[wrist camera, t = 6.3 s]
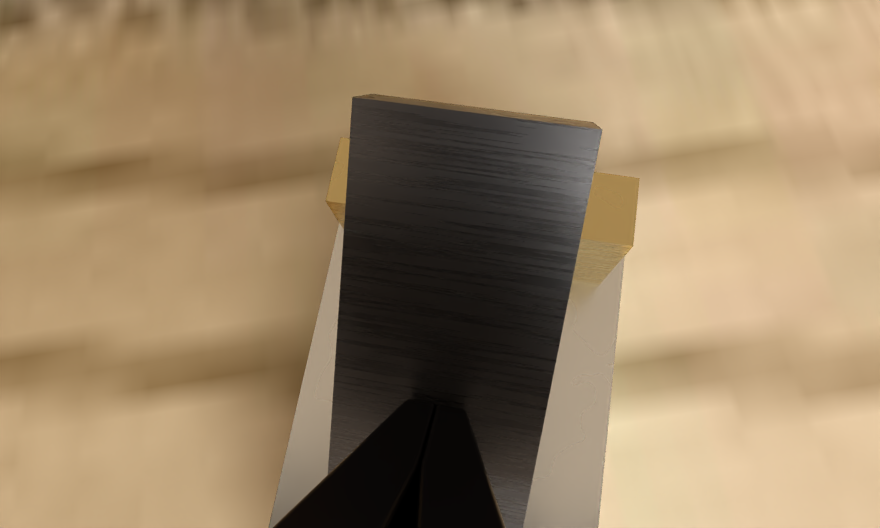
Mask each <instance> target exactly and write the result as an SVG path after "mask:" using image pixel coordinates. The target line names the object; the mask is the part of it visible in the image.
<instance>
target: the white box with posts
mask: <svg viewBox="0 0 880 528" xmlns="http://www.w3.org/2000/svg"><path fill="white" fill-rule="evenodd" d="M349 143H350V139H349V138H341V139H340V143H339V147H338V151H337V155H336V160H335V164H334V168H333V172H332V176H331V180H330V185H329V189H328V193H327V197H326V202H327V204H328V205H329V207H330V209H331V210H332V212H333V213H334V215H335V217H336V218H337V220H338V221H339V226H338V230H337V235H336V239H335V243H334V248H333V252H332V256H331V261H330V265H329V269H328V273H327V278H326V282H325V286H324V291H323V295H322V299H321V304H320V308H319V312H318V317H317V321H316V325H315V330H314V334H313V338H312V343H311V347H310V351H309V355H308V360H307V364H306V368H305V373H304V377H303V381H302V386H301V390H300V394H299V399H298V403H297V407H296V412H295V416H294V420H293V425H292V429H291V433H290V438H289V442H288V446H287V450H286V455H285V459H284V463H283V468H282V472H281V476H280V481H279V485H278V489H277V494H276V498H275V502H274V507H273V511H272V515H271V520H270V524H269V528H273V527H274V526H275V525H276V524H277V523H278V522H279V521H280V520H281V519H282V518H283V517H284V516H285V515H286V514H287V513H288V512H289V511H290V510H291V509H292V508H294V507H295V506H296V505H297V504H298V503H299V502H300V501H301V500H302V499H303V498H304V497H305V496H306V495H307V494H308V493H309V492H310V491H311V490H312V489H313V488H314V487H316V486H317V485H318V484H319V483H320V482H321V481H322V480H323V479H324V478H325V477H326V476H327V475H328V462H329V447H330V432H331V417H332V401H333V386H334V371H335V356H336V341H337V326H338V310H339V295H340V280H341V265H342V250H343V234H344V219H345V204H346V189H347V174H348V159H349ZM638 188H639V178H634V177H627V176H619V175H612V174H605V173H597V172H594V174H593V179H592V184H591V189H590V194H589V199H588V204H587V209H586V214H585V219H584V224H583V229H582V234H581V239H580V244H579V249H578V254H577V259H576V264H575V269H574V274H573V279H572V284H571V289H570V294H569V299H568V304H567V309H566V314H565V319H564V324H563V329H562V334H561V339H560V344H559V349H558V354H557V359H556V364H555V369H554V374H553V379H552V384H551V389H550V394H549V399H548V404H547V409H546V414H545V419H544V424H543V429H542V434H541V439H540V444H539V449H538V454H537V460H536V465H535V470H534V475H533V480H532V485H531V490H530V495H529V500H528V505H527V510H526V515H525V520H524V525H523V528H598V524H599V514H600V503H601V493H602V483H603V472H604V462H605V452H606V442H607V431H608V421H609V411H610V400H611V390H612V380H613V370H614V359H615V349H616V339H617V328H618V318H619V308H620V298H621V287H622V277H623V267H624V256H625V255H626V254H627V253H628V251H629V250H630V249H631V248H632V247H633V242H634V231H635V220H636V210H637V199H638Z"/></svg>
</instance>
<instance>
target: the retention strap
mask: <svg viewBox="0 0 880 528" xmlns="http://www.w3.org/2000/svg"><path fill="white" fill-rule="evenodd" d="M601 134H602V129H601V128H600V127H599V126H597V125H596V124H595V123H594V122H586V121H578V120H571V119H563V118H555V117H547V116H540V115H532V114H524V113H516V112H509V111H501V110H493V109H485V108H478V107H470V106H462V105H454V104H447V103H439V102H431V101H423V100H416V99H408V98H400V97H392V96H385V95H377V94H369V95H363V96H356V97H353V98H352V113H351V128H350V143H349V159H348V174H347V189H346V204H345V219H344V234H343V250H342V265H341V280H340V295H339V310H338V326H337V341H336V356H335V371H334V386H333V401H332V417H331V432H330V447H329V462H328V474H329V473H330V472H331V471H332V470H333V469H334V468H335V467H336V466H337V465H339V464H340V463H341V462H342V461H343V460H344V459H345V458H346V457H347V456H348V455H349V454H350V453H351V452H352V451H353V450H354V449H355V448H356V447H357V446H358V445H359V444H360V443H362V442H363V441H364V440H365V439H366V438H367V437H368V436H369V435H370V434H371V433H372V432H373V431H374V430H375V429H376V428H377V427H378V426H379V425H380V424H381V423H382V422H384V421H385V420H386V419H387V418H388V417H389V416H390V415H391V414H392V413H393V412H394V411H395V410H396V409H397V408H398V407H399V406H400V405H401V404H402V403H403V402H404V401H406V400H408V399H415V400H421V401H427V402H432V403H433V404H434V405H435V407H437V406H438V405H440V404H443V405H449V406H455V407H460V408H463V409H465V411H466V412H467V415H468V418H469V421H470V423H471V426H472V429H473V432H474V435H475V438H476V441H477V444H478V447H479V450H480V453H481V456H482V459H483V462H484V465H485V468H486V471H487V474H488V477H489V480H490V483H491V486H492V489H493V492H494V495H495V498H496V501H497V503H498V506H499V509H500V512H501V515H502V518H503V521H504V524H505V527H506V528H523V525H524V520H525V515H526V510H527V505H528V500H529V495H530V490H531V485H532V480H533V475H534V470H535V465H536V460H537V454H538V449H539V444H540V439H541V434H542V429H543V424H544V419H545V414H546V409H547V404H548V399H549V394H550V389H551V384H552V379H553V374H554V369H555V364H556V359H557V354H558V349H559V344H560V339H561V334H562V329H563V324H564V319H565V314H566V309H567V304H568V299H569V294H570V289H571V284H572V279H573V274H574V269H575V264H576V259H577V254H578V249H579V244H580V239H581V234H582V229H583V224H584V219H585V214H586V209H587V204H588V199H589V194H590V189H591V184H592V179H593V174H594V169H595V164H596V159H597V154H598V149H599V144H600V139H601Z"/></svg>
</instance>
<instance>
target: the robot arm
mask: <svg viewBox="0 0 880 528" xmlns="http://www.w3.org/2000/svg"><path fill="white" fill-rule="evenodd" d="M273 528H506V527H505V524H504V521H503V518H502V515H501V512H500V509H499V506H498V503H497V501H496V498H495V495H494V492H493V489H492V486H491V483H490V480H489V477H488V474H487V471H486V468H485V465H484V462H483V459H482V456H481V453H480V450H479V447H478V444H477V441H476V438H475V435H474V432H473V429H472V426H471V423H470V421H469V418H468V415H467V412H466V411H465V409H463V408H460V407H455V406H449V405H443V404H440V405H438V406H437V407H435V405H434V404H433V403H432V402H427V401H421V400H415V399H408V400H406V401H404V402H403V403H402V404H401V405H400V406H399V407H398V408H397V409H396V410H395V411H394V412H393V413H392V414H391V415H390V416H389V417H388V418H387V419H386V420H385V421H384V422H382V423H381V424H380V425H379V426H378V427H377V428H376V429H375V430H374V431H373V432H372V433H371V434H370V435H369V436H368V437H367V438H366V439H365V440H364V441H363V442H362V443H360V444H359V445H358V446H357V447H356V448H355V449H354V450H353V451H352V452H351V453H350V454H349V455H348V456H347V457H346V458H345V459H344V460H343V461H342V462H341V463H340V464H339V465H337V466H336V467H335V468H334V469H333V470H332V471H331V472H330V473H329V474H328V475H327V476H326V477H325V478H324V479H323V480H322V481H321V482H320V483H319V484H318V485H317V486H316V487H314V488H313V489H312V490H311V491H310V492H309V493H308V494H307V495H306V496H305V497H304V498H303V499H302V500H301V501H300V502H299V503H298V504H297V505H296V506H295V507H294V508H292V509H291V510H290V511H289V512H288V513H287V514H286V515H285V516H284V517H283V518H282V519H281V520H280V521H279V522H278V523H277V524H276V525H275V526H274V527H273Z"/></svg>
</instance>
